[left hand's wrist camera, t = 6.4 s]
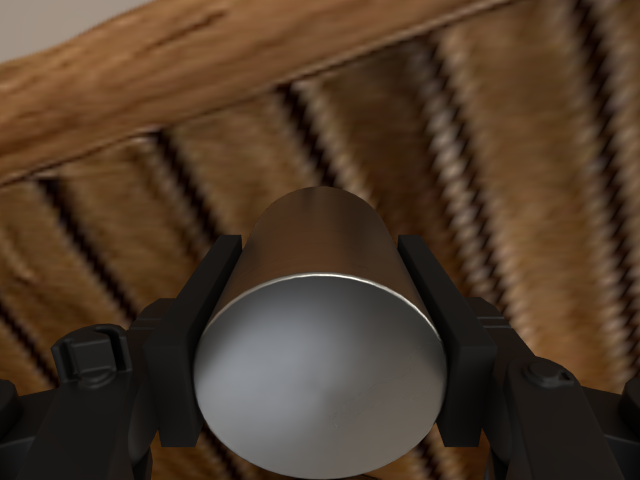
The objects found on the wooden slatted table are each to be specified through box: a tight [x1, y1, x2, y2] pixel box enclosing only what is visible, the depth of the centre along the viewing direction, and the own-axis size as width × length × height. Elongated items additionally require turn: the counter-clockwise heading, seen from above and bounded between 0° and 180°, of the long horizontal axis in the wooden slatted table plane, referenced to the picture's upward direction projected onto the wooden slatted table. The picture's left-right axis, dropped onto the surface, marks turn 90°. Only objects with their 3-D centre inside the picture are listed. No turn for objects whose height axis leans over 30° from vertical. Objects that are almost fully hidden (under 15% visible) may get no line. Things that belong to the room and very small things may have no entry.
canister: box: [192, 187, 449, 479], centre depth 12 cm, size 6×6×7 cm
